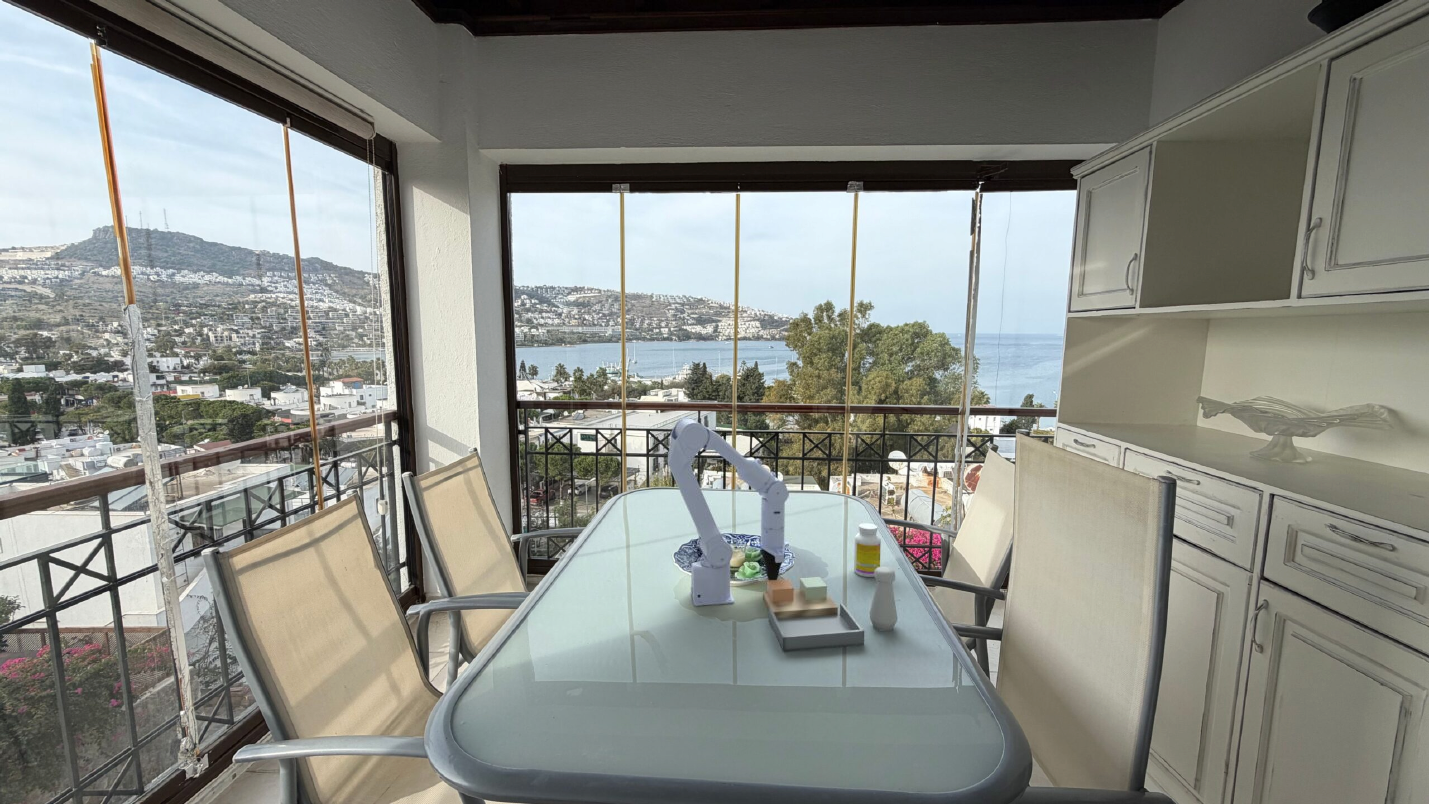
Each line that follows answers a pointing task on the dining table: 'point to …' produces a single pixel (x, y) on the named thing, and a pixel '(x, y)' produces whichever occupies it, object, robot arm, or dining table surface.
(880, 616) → the salt shaker
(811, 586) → the tile sage
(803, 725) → the dining table surface
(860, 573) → the supplement bottle
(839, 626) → the tray
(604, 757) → the dining table surface
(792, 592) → the tile terracotta
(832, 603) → the board
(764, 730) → the dining table surface
